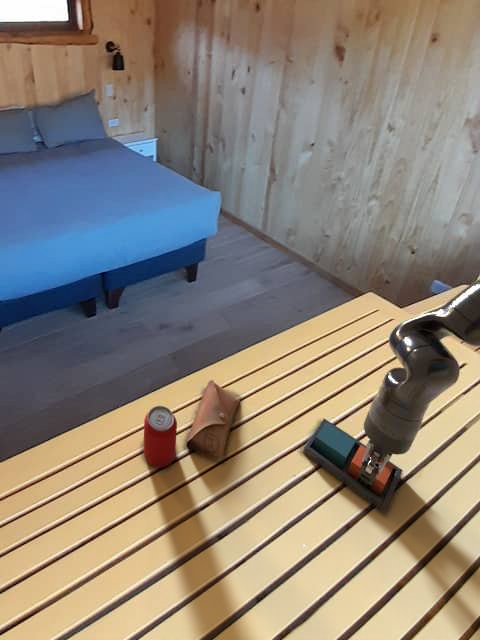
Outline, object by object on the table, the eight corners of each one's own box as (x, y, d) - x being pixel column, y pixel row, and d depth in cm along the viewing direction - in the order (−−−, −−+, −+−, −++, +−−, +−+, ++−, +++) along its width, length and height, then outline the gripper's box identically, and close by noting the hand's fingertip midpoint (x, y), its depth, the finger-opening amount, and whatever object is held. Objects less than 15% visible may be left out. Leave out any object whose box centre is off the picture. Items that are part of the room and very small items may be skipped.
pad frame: (398, 478, 81) (402, 470, 80) (382, 514, 76) (386, 506, 74) (321, 425, 92) (323, 417, 90) (302, 454, 86) (304, 446, 85)
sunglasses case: (224, 465, 84) (210, 441, 82) (195, 463, 88) (182, 440, 87) (241, 397, 98) (230, 376, 97) (215, 398, 102) (204, 377, 101)
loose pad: (387, 478, 80) (393, 466, 79) (379, 496, 77) (385, 485, 76) (356, 456, 84) (361, 444, 83) (346, 473, 81) (351, 461, 80)
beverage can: (179, 447, 88) (182, 411, 82) (166, 475, 83) (169, 439, 77) (152, 433, 91) (153, 397, 85) (138, 459, 86) (138, 423, 80)
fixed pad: (351, 453, 85) (355, 441, 83) (341, 469, 82) (346, 458, 80) (322, 433, 89) (326, 422, 87) (312, 448, 86) (316, 437, 84)
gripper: (404, 462, 66) (376, 517, 74) (428, 408, 75) (400, 463, 82) (356, 431, 71) (334, 486, 79) (383, 384, 80) (361, 437, 87)
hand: (368, 474), depth 81 cm, fingers closed on loose pad, 5 cm apart
